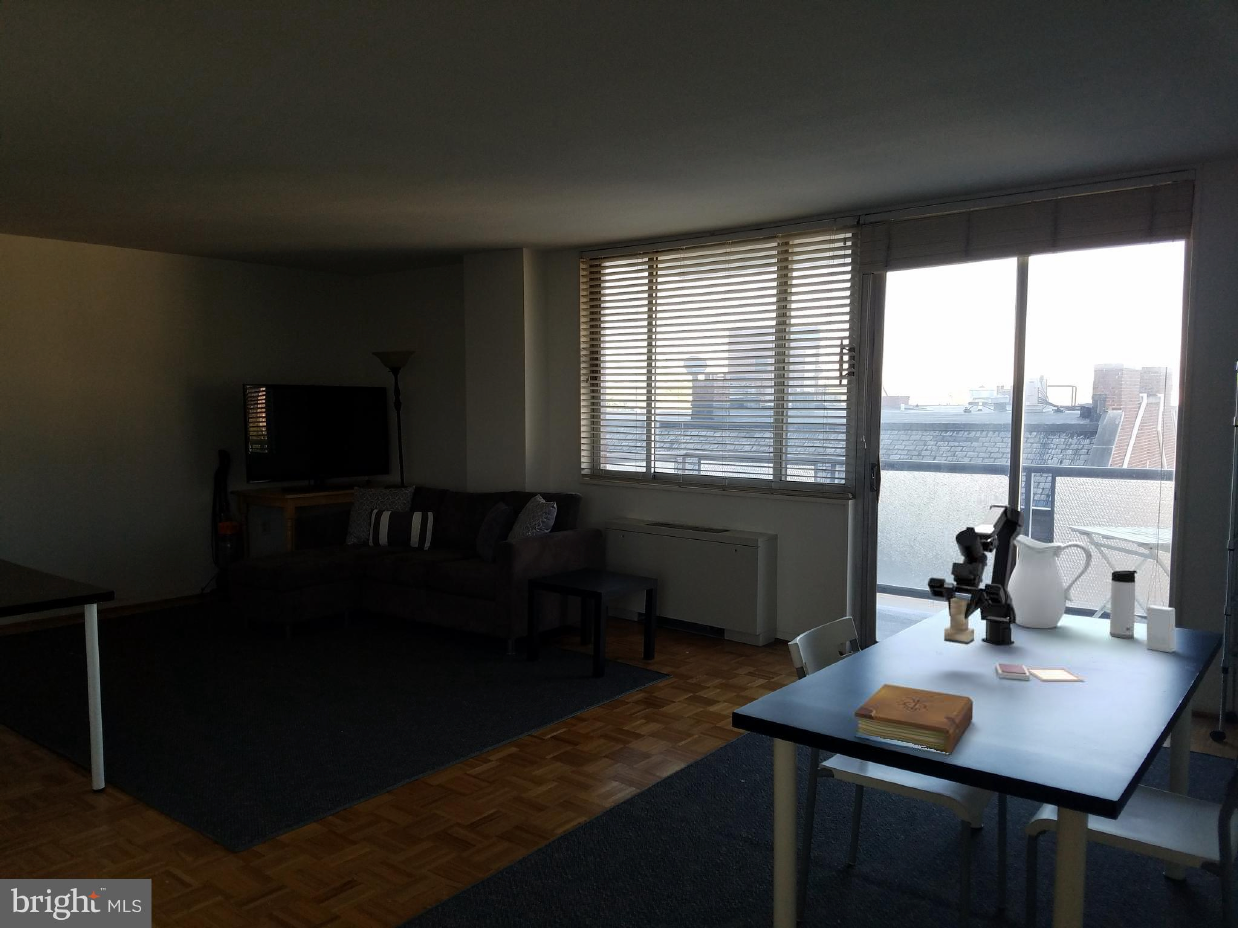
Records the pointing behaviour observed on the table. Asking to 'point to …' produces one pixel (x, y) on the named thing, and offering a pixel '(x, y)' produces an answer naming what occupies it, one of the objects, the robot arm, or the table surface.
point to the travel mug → (1122, 604)
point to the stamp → (959, 623)
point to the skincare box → (1161, 628)
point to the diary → (916, 717)
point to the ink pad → (1012, 671)
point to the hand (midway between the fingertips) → (957, 616)
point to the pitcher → (1041, 582)
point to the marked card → (1053, 674)
